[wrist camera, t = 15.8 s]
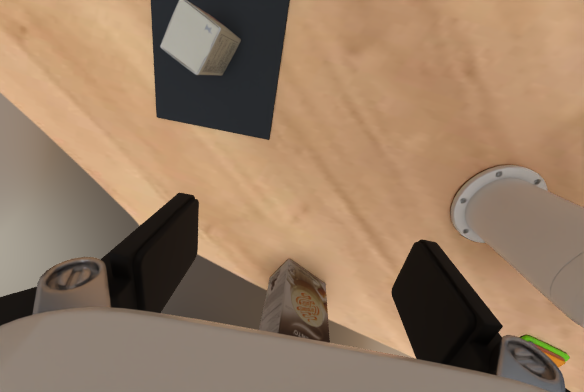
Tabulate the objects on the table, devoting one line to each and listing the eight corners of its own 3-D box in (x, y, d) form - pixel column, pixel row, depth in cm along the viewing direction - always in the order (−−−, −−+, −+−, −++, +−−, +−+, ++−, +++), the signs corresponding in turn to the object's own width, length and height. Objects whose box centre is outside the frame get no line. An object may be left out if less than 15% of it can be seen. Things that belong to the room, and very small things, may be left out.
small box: (211, 15, 29) (179, -7, 22) (242, 40, 30) (221, 27, 23) (192, 54, 31) (157, 46, 24) (222, 77, 32) (196, 76, 25)
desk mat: (295, -43, 27) (295, -45, 26) (269, 139, 35) (268, 139, 35) (149, -75, 26) (146, -77, 26) (158, 116, 35) (156, 117, 34)
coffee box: (327, 283, 46) (335, 376, 31) (305, 301, 48) (303, 396, 34) (288, 256, 44) (278, 344, 29) (267, 277, 46) (248, 367, 32)
